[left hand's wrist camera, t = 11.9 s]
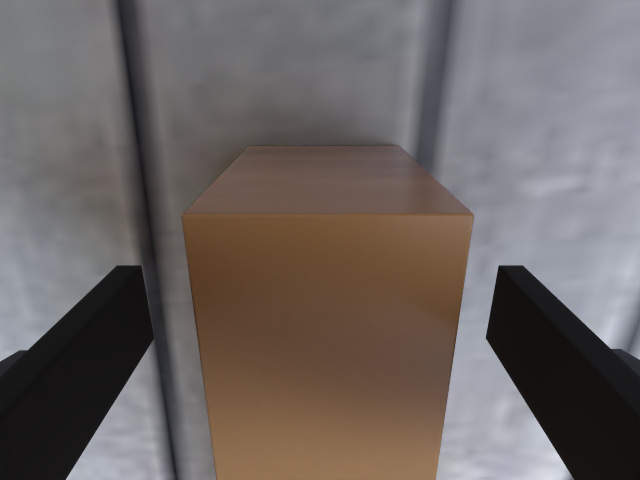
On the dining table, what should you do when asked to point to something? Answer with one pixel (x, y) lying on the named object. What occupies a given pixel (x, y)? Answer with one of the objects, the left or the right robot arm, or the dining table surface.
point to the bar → (326, 312)
